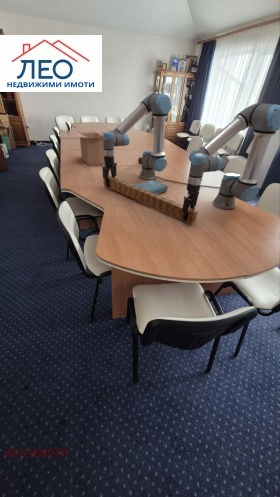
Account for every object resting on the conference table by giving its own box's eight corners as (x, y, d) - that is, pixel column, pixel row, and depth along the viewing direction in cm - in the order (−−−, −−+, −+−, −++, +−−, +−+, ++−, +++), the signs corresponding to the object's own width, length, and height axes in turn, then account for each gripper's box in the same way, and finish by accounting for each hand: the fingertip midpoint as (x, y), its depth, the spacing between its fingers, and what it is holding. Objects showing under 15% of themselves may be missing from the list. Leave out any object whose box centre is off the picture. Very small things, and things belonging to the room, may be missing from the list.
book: (152, 185, 190) (153, 179, 187) (167, 191, 181) (167, 185, 178) (133, 191, 176) (133, 185, 173) (147, 198, 167) (148, 191, 164)
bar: (103, 185, 179) (103, 176, 174) (108, 184, 181) (107, 174, 177) (191, 224, 136) (193, 213, 131) (195, 221, 139) (197, 210, 134)
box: (116, 165, 229) (116, 136, 213) (83, 168, 214) (80, 137, 198) (102, 154, 259) (101, 128, 243) (71, 156, 244) (68, 129, 228)
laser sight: (157, 166, 235) (158, 156, 229) (137, 164, 238) (137, 154, 232) (158, 164, 242) (159, 154, 236) (138, 161, 245) (139, 152, 239)
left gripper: (103, 158, 156) (104, 190, 170) (121, 154, 166) (121, 184, 180) (96, 156, 159) (98, 187, 174) (114, 152, 170) (115, 182, 184)
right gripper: (191, 189, 118) (184, 226, 132) (207, 181, 129) (199, 216, 143) (179, 185, 122) (174, 222, 136) (196, 178, 133) (189, 212, 147)
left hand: (110, 185), depth 177 cm, fingers closed on bar, 5 cm apart
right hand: (187, 219), depth 139 cm, fingers closed on bar, 5 cm apart
